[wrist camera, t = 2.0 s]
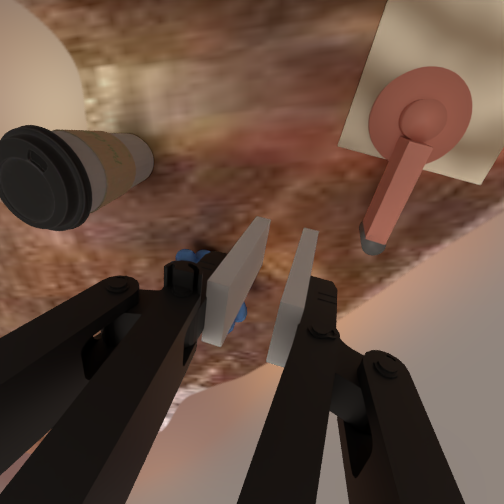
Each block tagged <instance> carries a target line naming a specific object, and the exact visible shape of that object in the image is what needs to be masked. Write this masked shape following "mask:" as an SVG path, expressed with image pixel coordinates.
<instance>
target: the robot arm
mask: <svg viewBox="0 0 504 504" xmlns="http://www.w3.org/2000/svg"><path fill="white" fill-rule="evenodd" d="M270 222H271V220H270V219H266V218H262V217H258V216H257V217H256V218H255V219H254V221H253V222H252V223H251V224H250V226H249V227H248V228H247V230H246V231H245V232H244V234H243V235H242V236H241V237H240V239H239V240H238V241H237V243H236V244H235V245H234V247H233V248H232V249H231V251H230V252H229V253H228V254H225V253H221V252H217V251H212V252H210V253H207V254H205V255H204V256H203V257H202V258H201V259H200V261H199V262H198V263H194V262H191V261H184V260H180V261H173V262H170V263H168V264H167V265H165V266H164V287H163V288H162V290H141V289H139V283H138V281H137V280H135V279H134V278H132V277H128V276H113V277H109V278H107V279H104V280H102V281H100V282H99V283H97V284H95V285H93V286H92V287H90V288H88V289H86V290H84V291H83V292H81V293H79V294H77V295H76V296H74V297H72V298H70V299H69V300H67V301H65V302H63V303H62V304H60V305H58V306H56V307H54V308H53V309H51V310H49V311H47V312H46V313H44V314H42V315H40V316H39V317H37V318H35V319H33V320H32V321H30V322H28V323H26V324H24V325H23V326H21V327H19V328H17V329H16V330H14V331H12V332H10V333H9V334H7V335H5V336H3V337H2V338H0V475H1V474H2V473H3V472H4V471H6V470H7V469H8V468H9V467H10V466H11V465H12V464H13V463H14V462H15V461H16V460H18V459H19V458H20V457H21V456H22V455H23V454H24V453H25V452H26V451H27V450H29V449H30V448H31V447H32V446H33V445H34V444H35V443H36V442H37V441H38V440H40V439H41V438H42V437H43V436H44V435H45V434H46V433H47V432H48V431H49V430H50V432H49V433H48V434H47V435H46V437H45V438H44V439H43V441H42V442H41V443H40V444H39V446H38V447H37V448H36V449H35V451H34V452H33V453H32V454H31V456H30V457H29V458H28V460H27V461H26V462H25V463H24V465H23V466H22V467H21V469H20V470H19V471H18V472H17V474H16V475H15V476H14V477H13V479H12V480H11V481H10V482H9V484H8V485H7V486H6V487H5V489H4V490H3V491H2V493H1V494H0V504H125V503H126V501H127V499H128V496H129V494H130V492H131V490H132V488H133V486H134V483H135V481H136V479H137V477H138V475H139V472H140V470H141V468H142V466H143V464H144V462H145V460H146V457H147V455H148V453H149V451H150V449H151V447H152V444H153V442H154V440H155V438H156V436H157V434H158V431H159V429H160V427H161V425H162V423H163V421H164V418H165V416H166V414H167V412H168V410H169V408H170V405H171V403H172V401H173V399H174V397H175V395H176V392H177V390H178V388H179V386H180V384H181V382H182V379H183V377H184V375H185V373H186V371H187V369H188V366H189V364H190V362H191V360H192V358H193V356H194V353H195V351H196V347H197V339H198V338H199V336H200V334H201V333H202V331H203V333H202V341H203V342H207V343H210V344H213V345H216V346H219V347H221V346H222V344H223V342H224V340H225V338H226V336H227V334H228V332H229V330H230V328H231V326H232V324H233V322H234V320H235V318H236V316H237V314H238V312H239V310H240V308H241V306H242V304H243V302H244V300H245V298H246V296H247V294H248V292H249V290H250V288H251V286H252V284H253V282H254V280H255V278H256V276H257V274H258V272H259V270H260V268H261V266H262V263H263V258H264V253H265V247H266V242H267V237H268V232H269V227H270ZM318 233H319V231H316V230H312V229H307V228H304V229H303V232H302V235H301V239H300V242H299V245H298V248H297V251H296V254H295V258H294V261H293V264H292V267H291V270H290V274H289V277H288V280H287V283H286V286H285V289H284V293H283V296H282V299H281V302H280V306H279V311H278V315H277V319H276V323H275V327H274V331H273V335H272V339H271V343H270V347H269V351H268V356H267V360H266V362H268V363H271V364H274V365H278V366H281V367H284V370H283V373H282V375H281V378H280V381H279V384H278V387H277V390H276V393H275V395H274V398H273V401H272V404H271V407H270V410H269V413H268V416H267V418H266V421H265V424H264V427H263V430H262V433H261V435H260V438H259V441H258V444H257V447H256V450H255V453H254V455H253V458H252V461H251V464H250V467H249V470H248V473H247V476H246V478H245V481H244V484H243V487H242V490H241V493H240V495H239V499H238V502H237V504H316V497H317V490H318V484H319V477H320V470H321V464H322V457H323V450H324V444H325V437H326V430H327V424H328V417H329V411H331V412H332V413H334V414H335V415H337V421H338V428H339V435H340V442H341V449H342V457H343V463H344V470H345V478H346V484H347V492H348V499H349V504H465V502H464V500H463V498H462V495H461V493H460V491H459V488H458V486H457V484H456V481H455V479H454V477H453V475H452V472H451V469H450V467H449V465H448V462H447V460H446V458H445V455H444V453H443V451H442V448H441V446H440V444H439V441H438V439H437V437H436V434H435V432H434V429H433V427H432V425H431V422H430V420H429V418H428V415H427V413H426V411H425V408H424V406H423V404H422V401H421V399H420V397H419V394H418V392H417V389H416V387H415V385H414V382H413V380H412V378H411V376H410V373H409V371H408V370H407V368H406V367H405V365H404V364H403V363H402V362H401V361H400V360H399V359H397V358H396V357H394V356H392V355H391V354H389V353H386V352H383V351H379V350H371V351H369V352H366V353H365V355H362V354H360V353H358V352H356V351H355V350H353V349H351V348H350V347H348V346H347V345H346V344H345V343H344V342H343V341H342V340H341V339H340V334H339V332H338V330H337V329H336V317H337V288H336V287H335V285H334V283H333V282H332V281H328V280H324V279H321V278H317V277H313V276H310V275H311V270H312V265H313V259H314V254H315V249H316V243H317V238H318ZM100 330H101V333H100V334H98V335H97V336H95V337H93V335H95V334H96V333H97V332H99V331H100Z"/></svg>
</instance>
